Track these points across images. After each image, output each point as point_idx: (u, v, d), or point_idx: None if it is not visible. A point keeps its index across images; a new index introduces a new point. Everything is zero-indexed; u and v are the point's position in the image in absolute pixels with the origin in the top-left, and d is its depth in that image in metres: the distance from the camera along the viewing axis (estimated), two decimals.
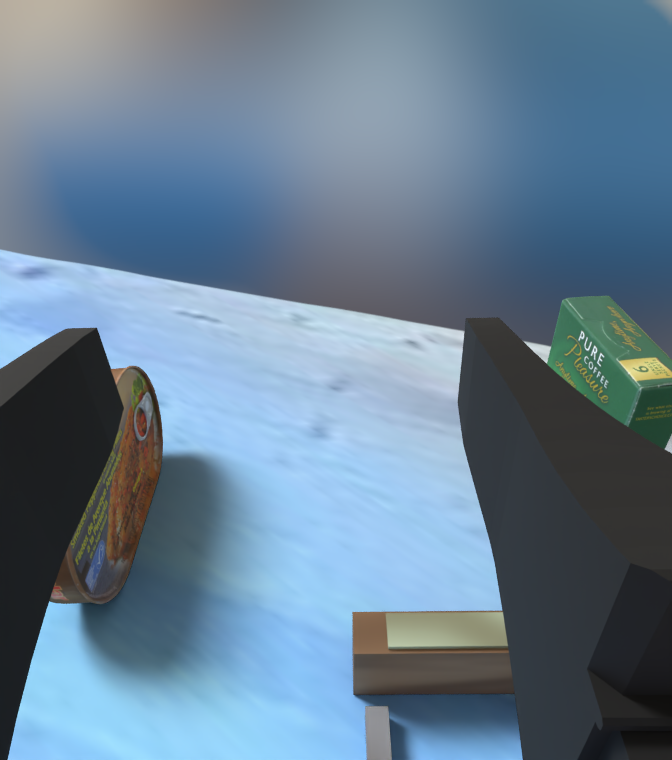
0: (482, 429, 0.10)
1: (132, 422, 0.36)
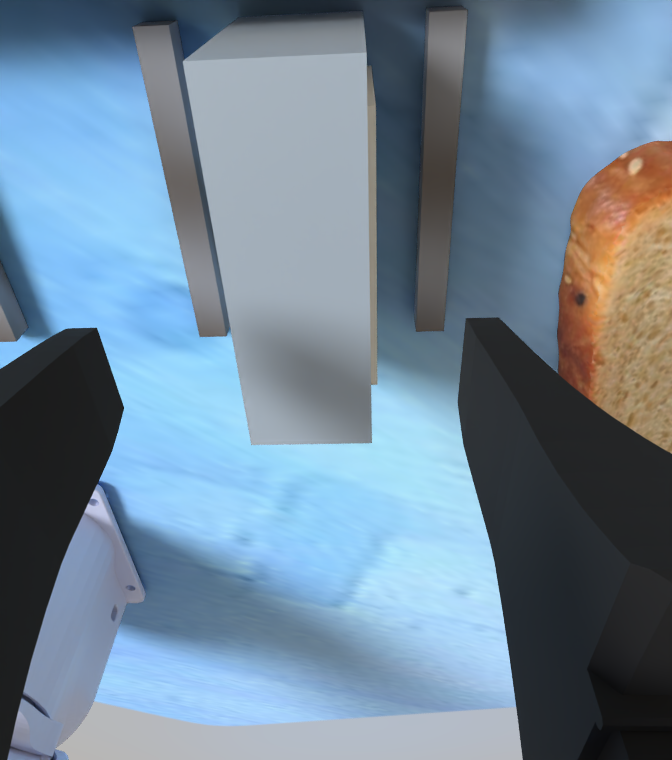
0: (482, 429, 0.10)
1: None
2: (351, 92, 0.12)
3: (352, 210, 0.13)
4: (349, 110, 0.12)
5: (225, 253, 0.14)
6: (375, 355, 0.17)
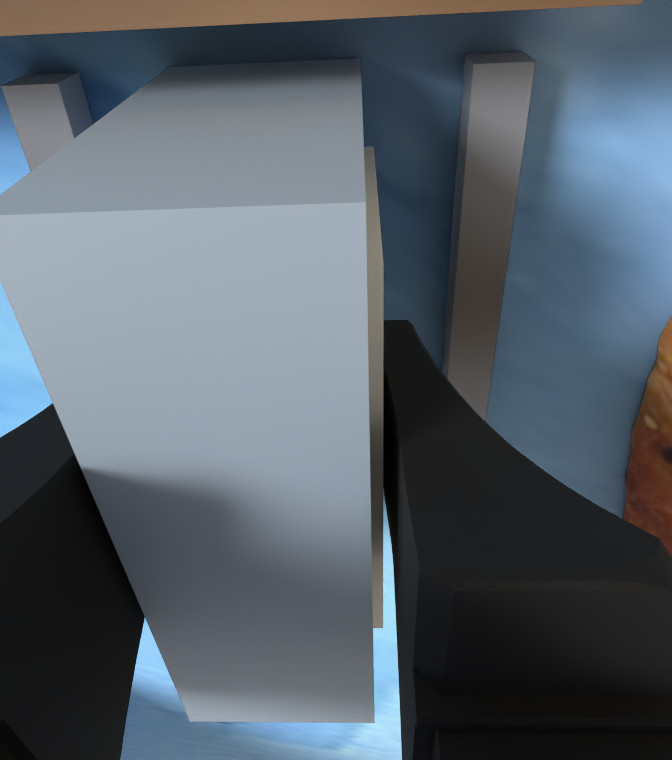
0: (383, 431, 0.10)
1: None
2: (334, 273, 0.06)
3: (339, 457, 0.07)
4: (330, 304, 0.06)
5: (113, 511, 0.08)
6: (380, 597, 0.11)
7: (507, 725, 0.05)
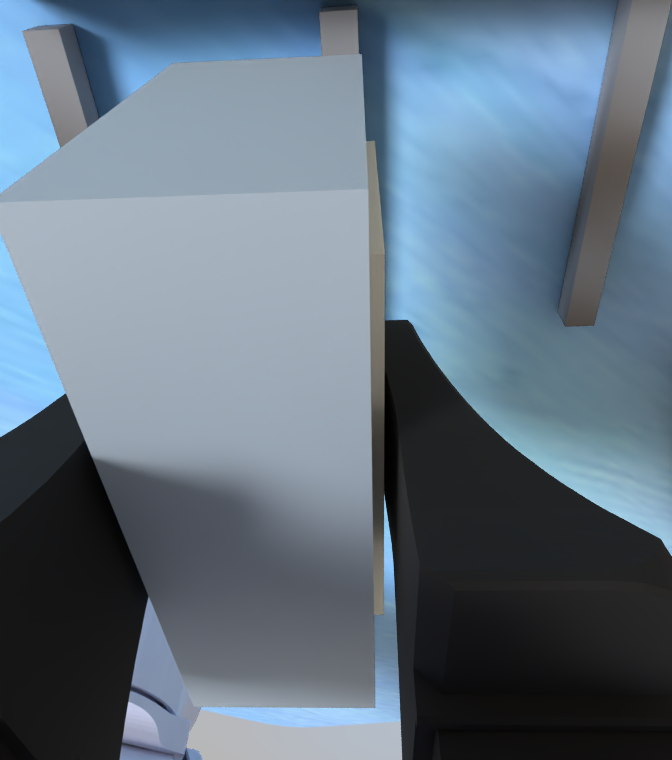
0: None
1: None
2: (337, 259, 0.06)
3: (342, 440, 0.07)
4: (334, 289, 0.06)
5: (121, 495, 0.08)
6: (381, 583, 0.11)
7: (507, 724, 0.05)
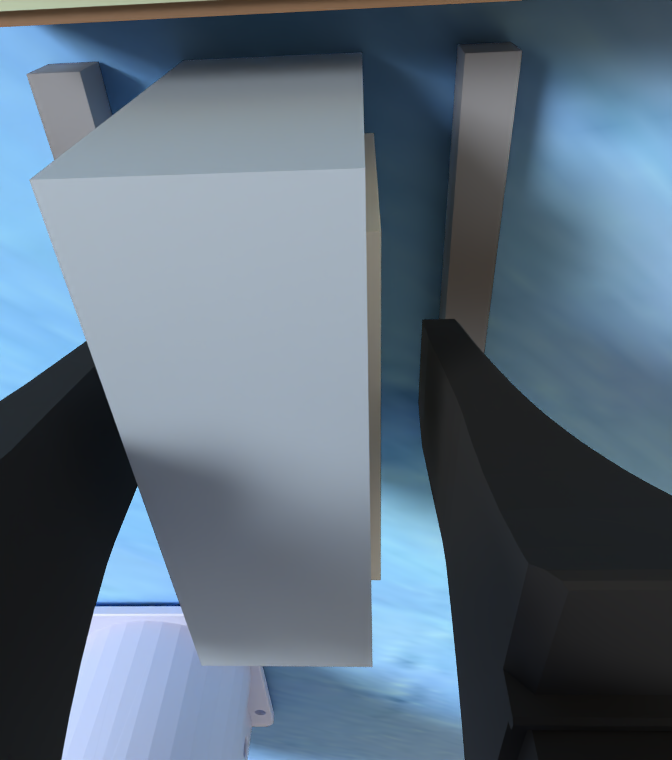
0: (434, 430, 0.10)
1: None
2: (337, 232, 0.06)
3: (341, 401, 0.08)
4: (334, 259, 0.07)
5: (139, 454, 0.09)
6: (378, 548, 0.12)
7: (604, 725, 0.05)
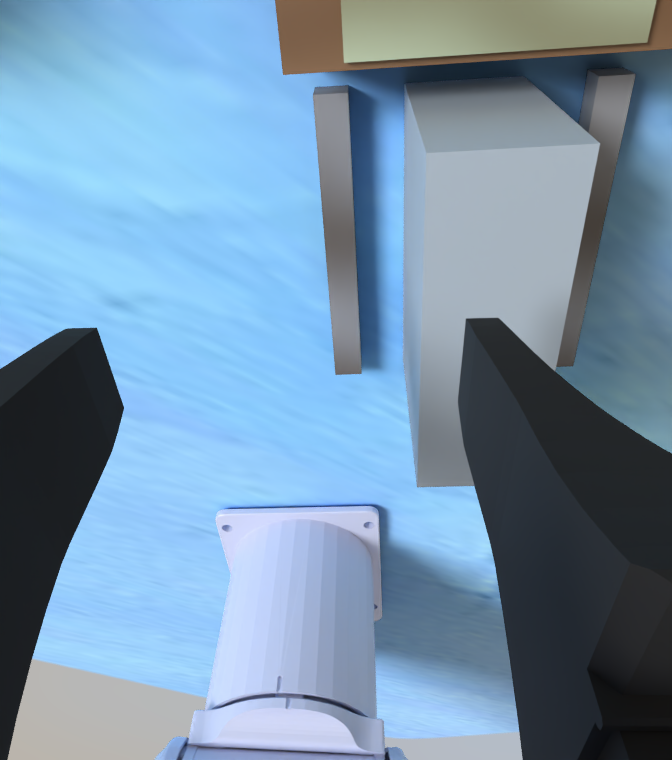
0: (482, 429, 0.10)
1: None
2: (578, 177, 0.13)
3: (558, 279, 0.14)
4: (573, 192, 0.13)
5: (429, 318, 0.15)
6: None
7: None
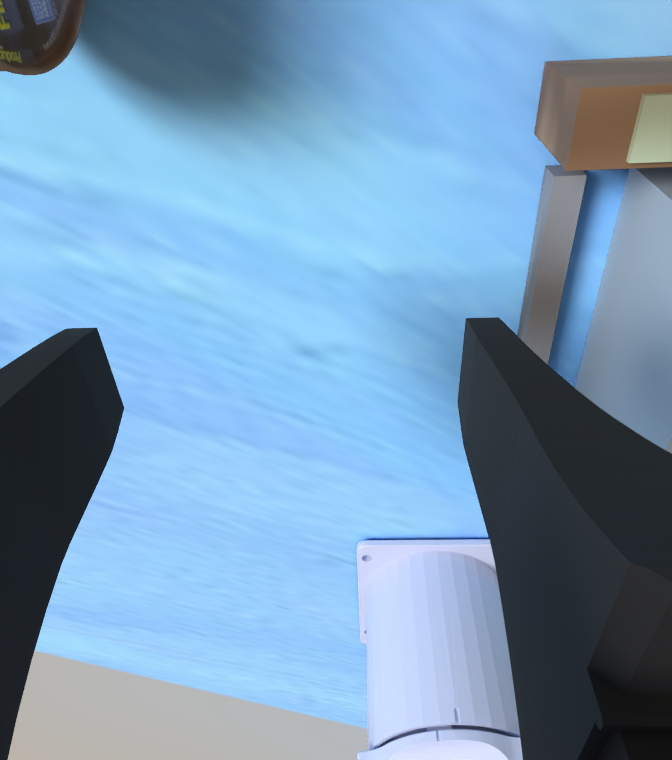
0: (482, 429, 0.10)
1: None
2: None
3: None
4: None
5: None
6: None
7: None
